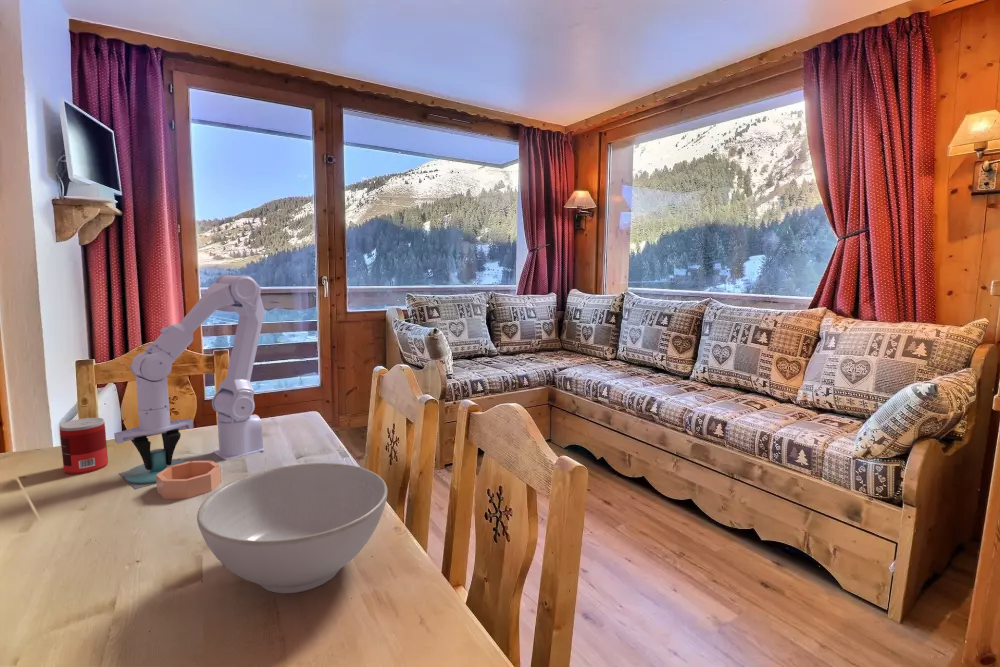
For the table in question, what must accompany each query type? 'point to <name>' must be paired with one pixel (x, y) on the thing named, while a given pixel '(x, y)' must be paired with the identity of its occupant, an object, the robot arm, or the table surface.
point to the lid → (149, 476)
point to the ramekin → (188, 479)
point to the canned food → (83, 445)
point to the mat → (135, 484)
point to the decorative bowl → (293, 523)
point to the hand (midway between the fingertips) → (158, 466)
